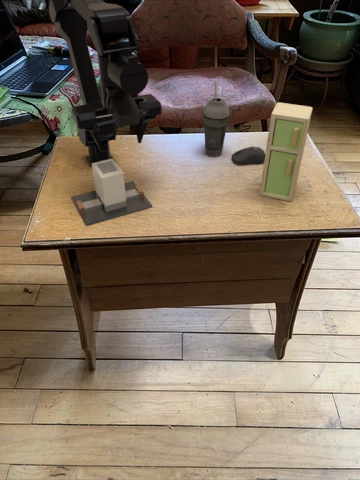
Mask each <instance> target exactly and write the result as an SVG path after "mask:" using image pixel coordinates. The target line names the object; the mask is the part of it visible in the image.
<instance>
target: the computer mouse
mask: <svg viewBox="0 0 360 480" xmlns="http://www.w3.org/2000/svg"><path fill="white" fill-rule="evenodd" d="M265 154H266V151H264V149H263V148H262V147H259V146H249V147H245V148H242V149H239V150H236V151H235V152H233V153H232V155H231V159H232V161H233V163H234V164H236V165H239V166H247V165H258V164H262V163H263V164H264V161H265Z"/></svg>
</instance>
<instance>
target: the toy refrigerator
mask: <svg viewBox="0 0 360 480" xmlns="http://www.w3.org/2000/svg"><path fill="white" fill-rule="evenodd" d="M312 114H313V107H312V106H308V105H299V104H293V103H292V104H291V103H285V102H277V103H276V104H275V106H274V108H273V110H272V112H271V115H270V121H269V126H268V127H269V128H268V135H267V142H266V147H265V161H264V162H263V170H262V173H261V174H262V175H261V181H260V182H261V183H260V189H259V196H262V197H267V198H271V199H277V200H282V201H286V202H292V201H293V198H294V195H295V191H296V188H297V183H298V179H299V175H300V169H301V164H302V160H303V156H304V150H305V147H306V143H307V142H306V141H307V137H308V132H309V127H310V124H311V123H310V122H311V117H312Z"/></svg>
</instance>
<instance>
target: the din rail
mask: <svg viewBox="0 0 360 480" xmlns="http://www.w3.org/2000/svg"><path fill="white" fill-rule="evenodd" d="M124 184H125V195H126V205H127V206H126V207H122V208H119V209H115V210H111V211H108V212H106V211H105V209H104V203H103V202H102V200H101V198H97V196H96V190H93V191H88V192H85V193H81V194H77V195H72V196H70V198H71V200H72V202H73V204H74V206H75V208H76V210H77V211H78V213H79V215H80V217H81V219H82V221H83V223H84V225H85V227H87V226H91V225H95V224H99V223H102V222H105V221H108V220H109V221H110V220H112V219H116V218H119V217H123V216H127V215H130V214H134V213H137V212H140V211H143V210H147V209H151V208H153V204H152V203H151V201H150V200H148V198H147V196H145V191H144V190H143V188H142V187H141V185H139V184H136V183H135V181H134V180H131V181H128V182H127V181H126V182H124Z"/></svg>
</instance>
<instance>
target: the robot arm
mask: <svg viewBox="0 0 360 480" xmlns="http://www.w3.org/2000/svg"><path fill="white" fill-rule="evenodd" d="M48 11H49V12H48V13H49V16H50V21H51V22H52V23H53V24H54V27H55V30H56V33H58V35H59V36H60V37H61V38H62V39H63V40H64V42H66V45H67V48H68V52H69V56H70V60H71V63H72V67H73V70H74V71H73V72H74V75H75V79H76V82H77V86H78V90H79V94H80V98H81V102H82V105H76V106H75V105H74V106H72V108H71V111H70V112H71V119H72V120H73V123H74V124H75V125H76V127H77V128H78V131H77V135H78V138H79V141H80V142H81V143H82V144H83V146H85V148H87V151H88V155H85V159H86V160H87V162H88V163H89V165H90V166H91V168H92V163H95V162H100V161H104V160H108V159H113V160H114V161H115V162H116V160H115V159H114V157H113V156H112V154H111V147H110V141H115V140H116V138H117V127H118V128H125V127H128V126H135V128H136V129H135V130H136V131H135V132H136V139H137V140H136V141H137V143H138V144H141V143H142V141H143V138H144V135H145V132H146V129H147V126H148V124H149V123H150V122H151V121H152V120H155V119H156V118H157V116H161V115H162V114H163V113H162V110H163V109H162V107H163V106H162V102H161V101H159V100H158V99H157V98H156V97H155V96H154V95H153V94H152V93H148V94H142V95H138V94H141V93H142V92H144V90H145V89H146V87H147V85H148V83H149V73H148V71H147V69H146V67H145V66H144V65H143V63H140V62H139V61H138V60H139V59H138V57H139V56H138V55H137V54H135V53H133V52H136V51H139V50H140V46H139V37H138V34H137V32H136V30H135V27H134V24H133V21H132V20H131V16H130V14H129V13H128V12H127V10H126V9H125V8H124V6H121V5H119V4H116V3H106V2H105V1H103V0H50V1H49V4H48ZM87 34H89V37H90V39H91V41H92V43H93V46H94V48H95V50H96V53H97V55H96V56H97V61H98V62H97V63H98V70H99V71H98V72H99V85H100V88H101V91H99V86H98V82H97V78H96V74H95V70H94V67H93V62H92V61H93V60H92V58H91V54H90V51H89V50H90V49H89V47H88V46H89V45H88V41H87ZM100 92H101V94H100ZM135 95H137V96H136V97H134V96H135ZM101 97H102V98H101Z"/></svg>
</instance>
